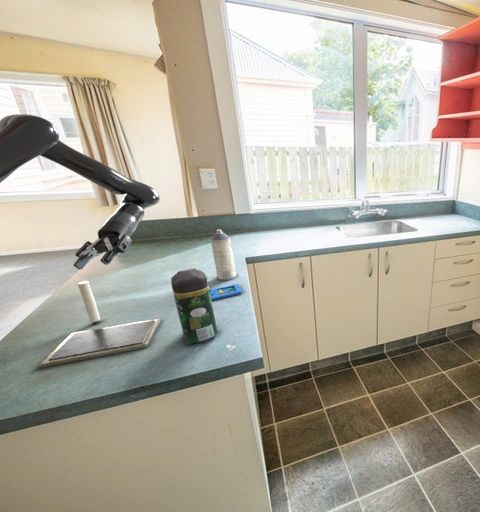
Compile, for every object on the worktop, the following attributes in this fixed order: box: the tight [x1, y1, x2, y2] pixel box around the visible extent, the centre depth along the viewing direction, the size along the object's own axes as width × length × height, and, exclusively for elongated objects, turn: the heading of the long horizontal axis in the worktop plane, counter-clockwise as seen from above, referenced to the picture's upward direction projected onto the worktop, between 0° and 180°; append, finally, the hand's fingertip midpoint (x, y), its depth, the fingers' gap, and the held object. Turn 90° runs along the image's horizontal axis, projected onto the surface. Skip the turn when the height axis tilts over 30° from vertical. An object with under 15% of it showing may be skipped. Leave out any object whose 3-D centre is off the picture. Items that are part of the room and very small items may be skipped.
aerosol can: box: [210, 229, 237, 282], centre depth 118 cm, size 7×7×20 cm
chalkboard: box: [40, 318, 162, 368], centre depth 78 cm, size 20×14×1 cm
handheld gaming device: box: [209, 283, 243, 301], centre depth 106 cm, size 8×1×15 cm
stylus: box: [77, 280, 102, 325], centre depth 85 cm, size 2×2×13 cm
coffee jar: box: [170, 268, 218, 344], centre depth 79 cm, size 10×8×19 cm
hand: (90, 265), depth 87 cm, fingers open, 8 cm apart
